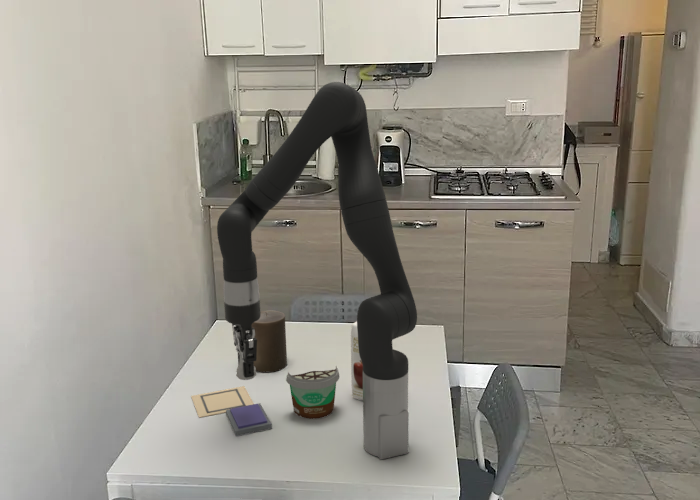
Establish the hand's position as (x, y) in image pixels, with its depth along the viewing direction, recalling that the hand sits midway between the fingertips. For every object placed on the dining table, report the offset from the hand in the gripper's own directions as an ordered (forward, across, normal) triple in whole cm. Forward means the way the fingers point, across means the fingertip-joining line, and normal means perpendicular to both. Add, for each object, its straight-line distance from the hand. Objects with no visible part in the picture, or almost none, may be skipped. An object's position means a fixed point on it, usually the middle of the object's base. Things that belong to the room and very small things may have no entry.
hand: (246, 371), depth 150 cm
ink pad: (+12, 0, 0) cm, 12 cm away
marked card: (+12, +11, +4) cm, 17 cm away
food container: (+12, -3, -15) cm, 20 cm away
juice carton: (+12, 0, -30) cm, 32 cm away
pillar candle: (+12, +27, -12) cm, 32 cm away
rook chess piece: (+1, 0, 0) cm, 1 cm away
